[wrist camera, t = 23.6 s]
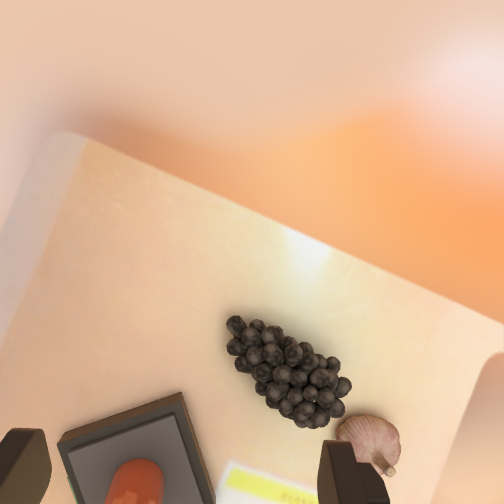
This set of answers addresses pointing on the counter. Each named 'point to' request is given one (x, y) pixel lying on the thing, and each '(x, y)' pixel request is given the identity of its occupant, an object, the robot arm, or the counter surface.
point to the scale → (138, 452)
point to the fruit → (288, 373)
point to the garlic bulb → (372, 442)
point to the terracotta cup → (136, 484)
